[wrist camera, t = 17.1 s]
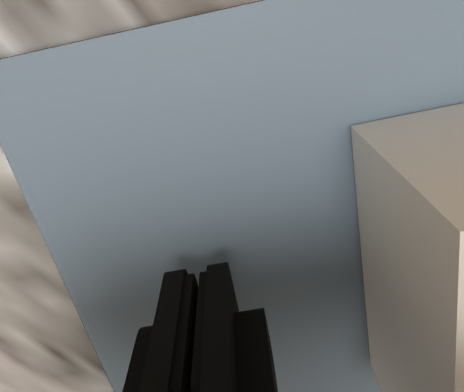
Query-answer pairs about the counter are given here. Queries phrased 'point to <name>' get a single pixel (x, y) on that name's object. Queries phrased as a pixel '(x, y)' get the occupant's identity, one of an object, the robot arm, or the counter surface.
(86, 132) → the board
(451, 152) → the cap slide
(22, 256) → the counter surface
